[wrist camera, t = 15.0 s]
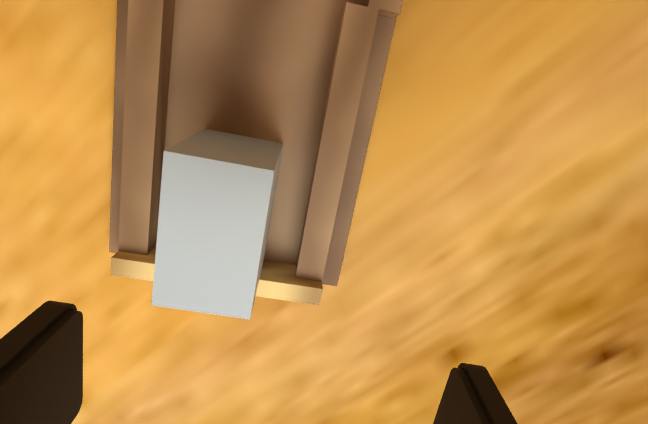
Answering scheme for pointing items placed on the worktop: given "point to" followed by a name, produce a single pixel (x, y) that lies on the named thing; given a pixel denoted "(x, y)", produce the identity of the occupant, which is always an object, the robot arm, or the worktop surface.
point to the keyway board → (250, 118)
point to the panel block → (214, 222)
